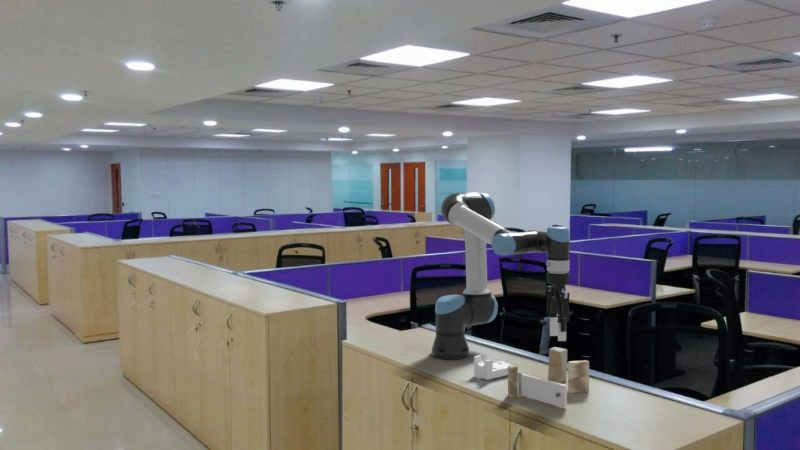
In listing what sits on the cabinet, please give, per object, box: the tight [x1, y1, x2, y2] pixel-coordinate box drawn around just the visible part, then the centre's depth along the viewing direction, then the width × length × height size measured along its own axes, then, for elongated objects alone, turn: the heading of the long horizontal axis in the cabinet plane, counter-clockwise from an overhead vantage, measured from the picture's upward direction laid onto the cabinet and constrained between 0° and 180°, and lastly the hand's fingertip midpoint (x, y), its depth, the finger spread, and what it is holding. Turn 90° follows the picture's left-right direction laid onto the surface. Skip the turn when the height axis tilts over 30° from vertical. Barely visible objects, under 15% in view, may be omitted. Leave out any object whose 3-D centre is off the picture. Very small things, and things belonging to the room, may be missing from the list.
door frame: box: [507, 359, 590, 399], centre depth 197 cm, size 27×3×10 cm, turn 99°
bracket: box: [473, 354, 512, 381], centre depth 217 cm, size 13×7×8 cm, turn 122°
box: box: [547, 346, 568, 384], centre depth 210 cm, size 5×4×11 cm
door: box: [518, 371, 568, 409], centre depth 190 cm, size 17×2×7 cm, turn 44°
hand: (557, 337), depth 210 cm, fingers open, 6 cm apart
